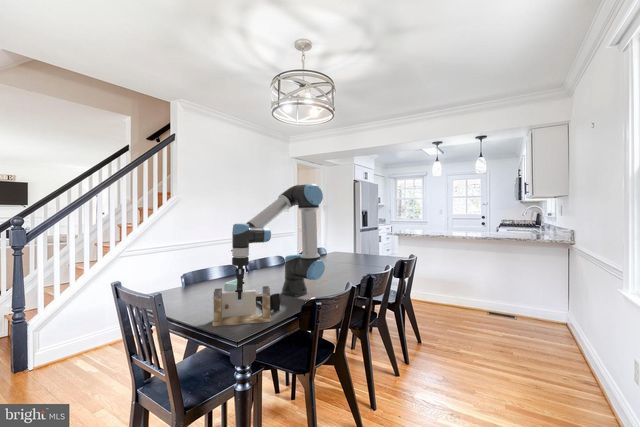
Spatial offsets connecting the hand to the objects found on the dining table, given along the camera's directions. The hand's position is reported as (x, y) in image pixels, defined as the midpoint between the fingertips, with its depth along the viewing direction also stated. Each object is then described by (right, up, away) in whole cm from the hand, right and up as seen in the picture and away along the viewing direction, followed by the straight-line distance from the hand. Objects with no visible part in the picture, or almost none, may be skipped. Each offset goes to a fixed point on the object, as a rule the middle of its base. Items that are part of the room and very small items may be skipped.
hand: (239, 302), depth 144 cm
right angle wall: (-11, -7, +40) cm, 42 cm away
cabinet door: (-1, -7, 0) cm, 7 cm away
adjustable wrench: (+8, -7, +17) cm, 21 cm away
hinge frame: (+3, -7, -6) cm, 10 cm away
